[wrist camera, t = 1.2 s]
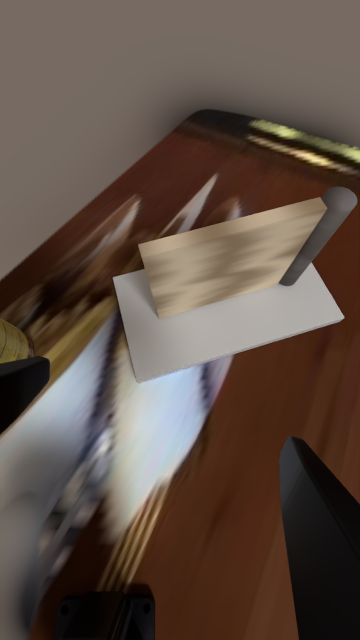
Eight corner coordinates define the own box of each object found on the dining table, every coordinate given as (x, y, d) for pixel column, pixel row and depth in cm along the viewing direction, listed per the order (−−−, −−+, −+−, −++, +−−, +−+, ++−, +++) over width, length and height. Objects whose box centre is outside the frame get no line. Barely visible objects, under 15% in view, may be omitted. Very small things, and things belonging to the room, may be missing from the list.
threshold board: (288, 235, 28) (291, 229, 27) (338, 321, 24) (344, 317, 23) (115, 282, 27) (112, 277, 26) (138, 383, 23) (136, 381, 22)
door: (284, 254, 26) (334, 168, 17) (300, 283, 24) (363, 205, 16) (151, 291, 25) (130, 220, 16) (160, 323, 23) (144, 264, 14)
